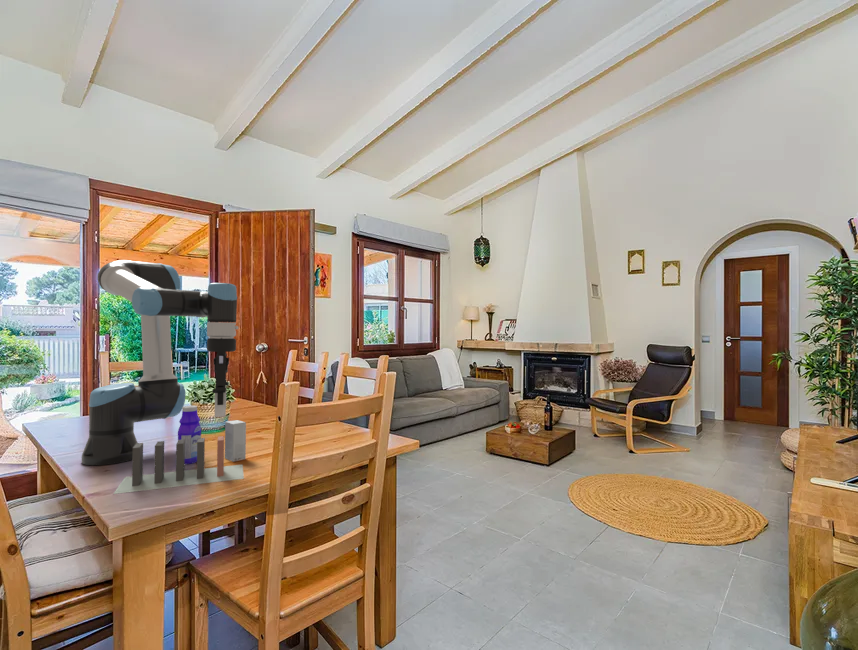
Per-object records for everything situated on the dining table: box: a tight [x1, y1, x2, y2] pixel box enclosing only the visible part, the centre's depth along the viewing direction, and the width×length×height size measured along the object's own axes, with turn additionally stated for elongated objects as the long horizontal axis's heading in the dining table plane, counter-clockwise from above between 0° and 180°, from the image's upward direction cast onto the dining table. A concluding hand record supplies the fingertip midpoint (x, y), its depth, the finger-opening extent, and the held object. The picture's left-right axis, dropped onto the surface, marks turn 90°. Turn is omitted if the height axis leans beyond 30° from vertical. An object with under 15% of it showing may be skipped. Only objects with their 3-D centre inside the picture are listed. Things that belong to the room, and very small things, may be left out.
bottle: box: [177, 405, 202, 465], centre depth 140 cm, size 7×6×17 cm
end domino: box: [216, 435, 225, 477], centre depth 128 cm, size 2×5×10 cm, turn 24°
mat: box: [113, 463, 245, 495], centre depth 124 cm, size 30×14×1 cm, turn 114°
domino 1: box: [131, 442, 144, 486], centre depth 120 cm, size 2×5×10 cm, turn 24°
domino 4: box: [196, 437, 206, 479], centre depth 126 cm, size 2×5×10 cm, turn 24°
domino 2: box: [154, 440, 165, 484], centre depth 122 cm, size 2×5×10 cm, turn 24°
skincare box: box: [224, 419, 247, 462], centre depth 143 cm, size 6×4×12 cm
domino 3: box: [175, 439, 186, 481], centre depth 124 cm, size 2×5×10 cm, turn 24°
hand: (220, 412), depth 128 cm, fingers open, 13 cm apart
